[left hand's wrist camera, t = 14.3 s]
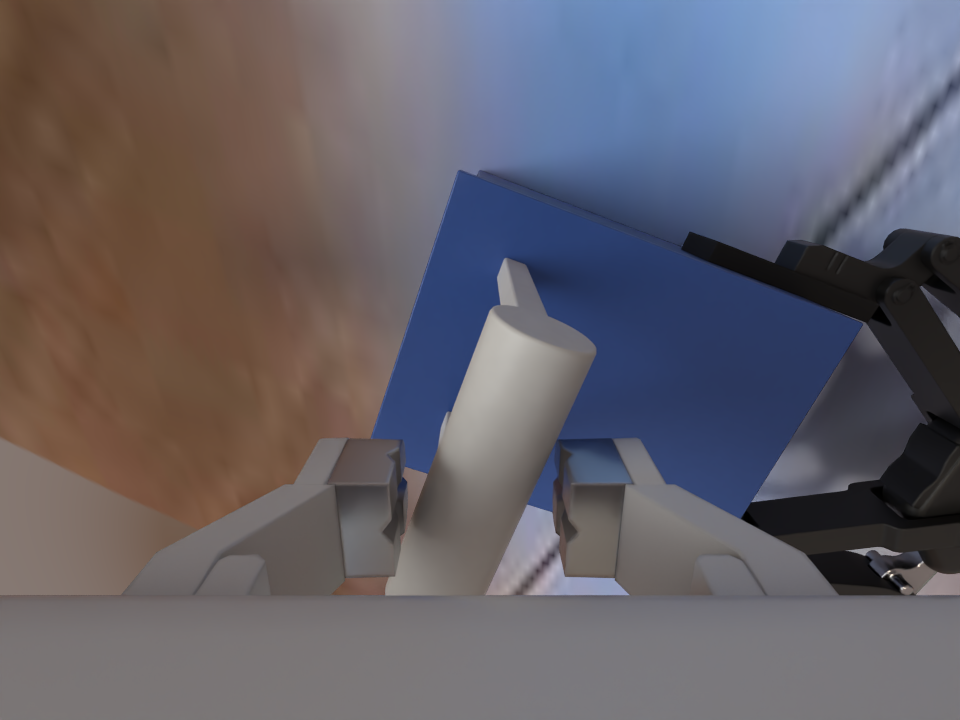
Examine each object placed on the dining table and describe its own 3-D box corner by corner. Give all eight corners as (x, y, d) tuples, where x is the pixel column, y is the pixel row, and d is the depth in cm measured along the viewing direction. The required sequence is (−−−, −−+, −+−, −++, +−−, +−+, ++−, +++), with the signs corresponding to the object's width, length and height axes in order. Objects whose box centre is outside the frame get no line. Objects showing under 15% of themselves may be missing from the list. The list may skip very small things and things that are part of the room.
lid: (370, 441, 19) (280, 669, 10) (459, 169, 16) (434, 180, 7) (703, 545, 20) (861, 818, 12) (845, 315, 17) (1193, 465, 9)
